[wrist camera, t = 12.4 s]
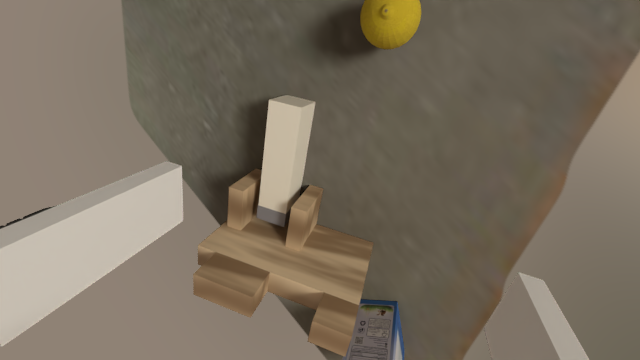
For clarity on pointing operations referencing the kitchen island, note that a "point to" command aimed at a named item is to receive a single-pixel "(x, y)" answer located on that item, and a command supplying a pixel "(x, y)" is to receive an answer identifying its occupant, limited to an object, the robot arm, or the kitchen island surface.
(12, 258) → the robot arm
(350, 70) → the kitchen island surface
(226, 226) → the wooden post cradle
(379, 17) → the lemon
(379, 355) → the milk carton
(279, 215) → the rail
